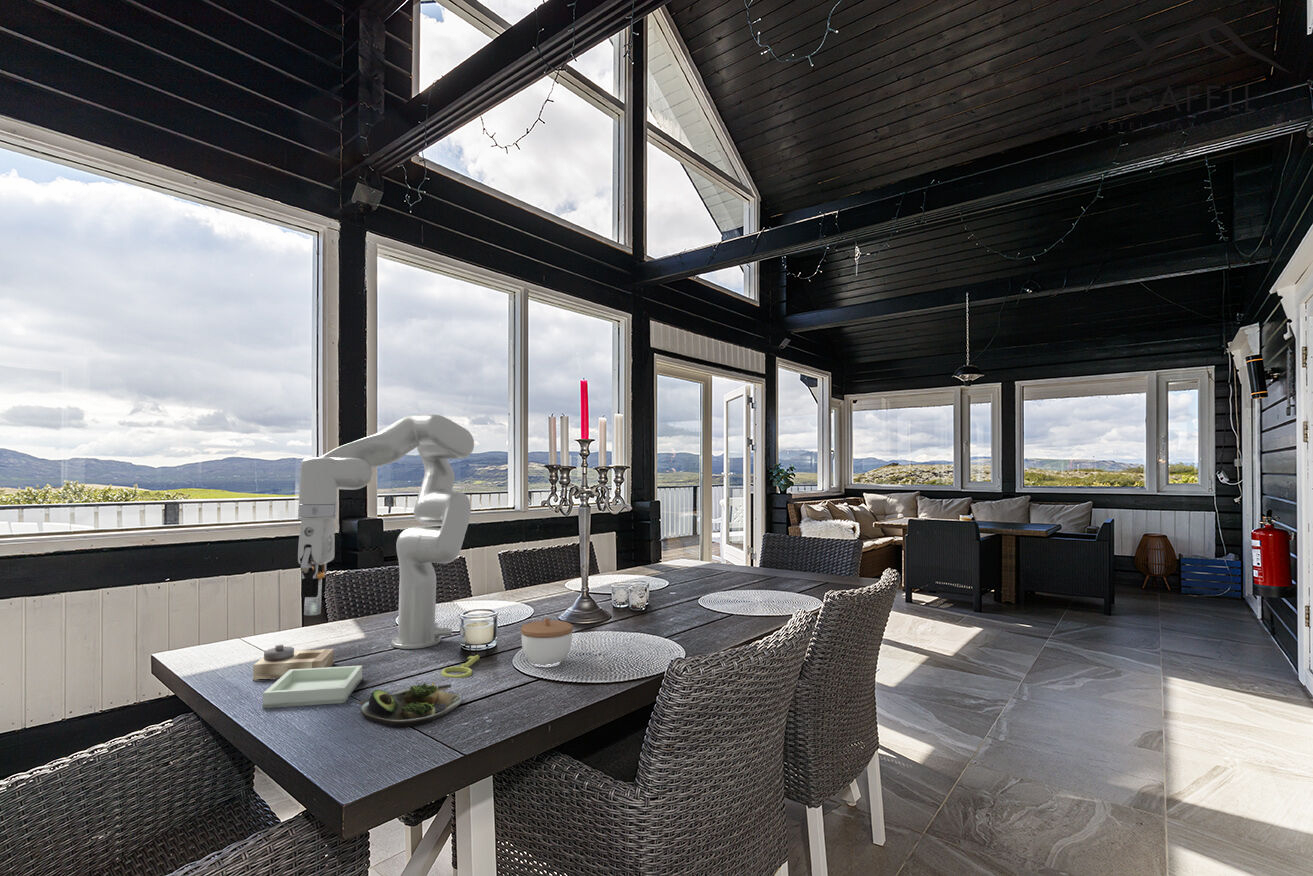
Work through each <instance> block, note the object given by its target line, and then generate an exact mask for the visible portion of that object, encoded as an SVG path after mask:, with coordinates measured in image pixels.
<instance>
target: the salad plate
mask: <svg viewBox="0 0 1313 876" xmlns="http://www.w3.org/2000/svg"><path fill="white" fill-rule="evenodd" d="M435 685H436V683H435V682H432V683H431V685H428V684H427V683H425V682H424V683H423V684H422V685H421V684H418V685H411V686H410V687H408V688H403V689H401V690H399V691H396V692H394V693H391V694H390V693H389V692H387V691H384V690H381V689H375V690H373V691H372V693H371V694H370V697H369V698H366V699H362V700H360V701H358V702H357V704H358V705H361V709H360V713H361V715H362V716H363V717H364V719H365V720H367V721H368V722H371V723H374V724H377V725H379V726H384V727H389V728H410V727H418V726H421V725H424V724H428V723H431V722H432V721H434V720H436V719H438V718H441V717H442V716H445V715H446V714H448V713H449V712H451V711H452V710H454V709H456V708H457V707H458V706H460V704H461V703H462V701H463V700H462V698H463V697H462V696H461V695H460V694H457V693H451V692H447V690H448V689H450V688H451V687H452V684H450V683H448V684H441V685H436V686H435ZM437 704H441V705H445V707H444V710H442V711H440V712H439V711H438V712H436V707H435V705H437Z"/></svg>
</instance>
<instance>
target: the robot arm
mask: <svg viewBox="0 0 1313 876" xmlns="http://www.w3.org/2000/svg"><path fill="white" fill-rule="evenodd" d="M474 447H475V440H474V437H473V435H472V434H471V432H470V431H469V430H468V429H467V428H465V427H463V426H461V425H460V424H458V423H456V422H454V421H453V420H451V419H449V418H447V417H445V416H442V415H441V414H411V415H406V416H405V417H403V418H402V417H401V418H400V419H398V420H397V421H395V422H393V423H392V424H390V425H389V426H387V427H385V428H384V429H382V430H380V431H378V432H376V433H375V434H372V435H369V436H366V437H363V438H360V439H357V440H354V441H352V442H349V443H346V444H343V445H340V446H338V447H336V448H334V449H332V450H330V451H329V452H327V453H324V454H323V455H321V456H319V457H315V456H314V457H313V456H312V457H305V458H304V459H302V461H301V462H300V468H299V469H300V470H299V489H298V490H299V492H298V510H297V511H298V512H297V513H298V515H297V520H300V527H299V534H298V535H299V536H298V547H297V548H298V549H297V562H298V564H299V565H300V569H301V593H300V595H301V596H300V597H301V598H305V597H317V596H318V584H319V578H317V573H318V572H325V577H324V578H322V592H321V594H324V593H325V592H326V585H327V583H326V582H327V566H328V563H329V562H332V561H333V560H334V559H335V553H336V552H335V551H336V550H335V549H336V548H335V547H336V546H335V542H336V541H335V539H336V538H335V537H336V536H335V534H336V533H335V522H334V520H335V519H336V518H337V504H338V503H337V501H338V500H337V498H338V497H337V496H338V490H348V491H349V490H353V491H354V490H360V489H362V488H364V487H366V486H368V484H370V482H371V481H372V479H373V472H374V471H373V468H374V467H375V468H376V467H382V466H385V465H389V464H390V465H391V464H393V463H395V462H397V461H399V460H400V459H401V458H403V457H404V456H406V455H407V454H409V453H410V452H412V451H413V450H414V449H416V448H417V453H418V454H419V457H420V458H421V461H422V463H423V468H424V475H423V479H422V482H421V486H420V488H419V492H418V495H417V499H416V501H415V504H414V508H413V516H414V519H415V520H416V521H417V522H419V523H421V524H423V525H424V524H425V525H435V526H436V525H437V526H441V527H432V526H413V527H407V528H405V529H404V530H402V531H401V532H400V533H399V535H398V536H397V539H396V545H395V546H396V547H395V548H396V554H397V560H398V569H399V585H398V617H397V618H398V619H397V620H398V621H397V627H398V628H397V636H396V637H394V638H393V639H391V646H392V647H393V648H396V649H400V650H401V649H402V650H403V649H404V650H413V649H414V650H415V649H423V648H429V647H432V646H436V645H438V644H439V643H440V642H441V640H442V638H441V637H442V636H445V637H446V636H447V637H449V636H450V637H451V636H452V634H453V629H452V628H451V627H450V628H449V627H440V626H438V622H436V608H437V607H436V605H437V604H436V603H437V574H436V571H435V568H434V566H433V564H449V563H452V562H454V561H455V560H456V559H457V558H458V556H459V554H460V552H461V550H462V546H463V544H464V543H463V542H464V540H465V535H466V533H467V529H468V526H469V523H470V518H471V513H472V505H471V500H470V498H469V497H468V495H467V494H466V493H464V492H462V491H457V490H456V491H455V490H454V491H453V488H454V485H455V480H456V477H455V472H454V469H453V468H452V466H451V465H450V462H449V460H448V459H454V460H455V459H458V460H459V459H465V458H467V457H469V456H470V455H471V454H472V453H473V451H474ZM432 563H433V564H432Z"/></svg>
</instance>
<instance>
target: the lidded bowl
mask: <svg viewBox="0 0 1313 876" xmlns="http://www.w3.org/2000/svg"><path fill="white" fill-rule="evenodd" d="M573 628H574V627H573V624H572V623H571V622H568V621H563V620H554V619H552V620H551V619H550V617H544V620H536V621H531V622H530V621H529V622H528V623H525V624H523V625H522V626H521V627H520V634H521V635H520V636H521V649H522V651H523V655H524V656H525V658H526V660H528V661H529V663H531V664H532V663H533V664H540V665H546V664H553V663H557V662H560V661H562V660H563V661H564V660H565V659H566V658H567V656H568V654H569V652H570V650H571V646H572V640H573ZM563 661H562V662H563Z"/></svg>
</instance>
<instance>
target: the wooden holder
mask: <svg viewBox="0 0 1313 876" xmlns="http://www.w3.org/2000/svg"><path fill="white" fill-rule="evenodd" d="M334 653H335V648H325V649H324V648H322V649H308V650H306V649H304V650H295V648H294V647H292V646H284V644H277V645H275V646H274V647H273V648H269V649H267V650H264V652H263V657H262V658H261V659H259V660H258V661H256V662H255V663H254V664H253V669H252V671H253V672H252V681H253V680H254V681H258V680H257V679H271V680H277V679H276V678H281V677H282V676H283V675H284V674H285V673H286V672H287V671H289V670H290V669H308V668H326V667H332V666H333V664H334V659H335V658H334V657H335V656H334ZM273 678H275V679H273Z"/></svg>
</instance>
